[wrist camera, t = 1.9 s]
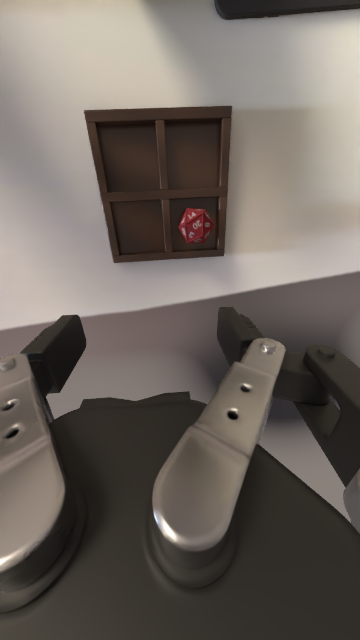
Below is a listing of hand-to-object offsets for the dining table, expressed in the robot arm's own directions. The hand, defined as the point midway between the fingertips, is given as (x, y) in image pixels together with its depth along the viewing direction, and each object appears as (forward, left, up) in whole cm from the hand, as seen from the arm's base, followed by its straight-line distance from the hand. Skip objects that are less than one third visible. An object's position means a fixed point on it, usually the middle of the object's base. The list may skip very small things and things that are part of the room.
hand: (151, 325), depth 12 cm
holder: (-8, +2, -18) cm, 20 cm away
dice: (-4, +5, -18) cm, 19 cm away
